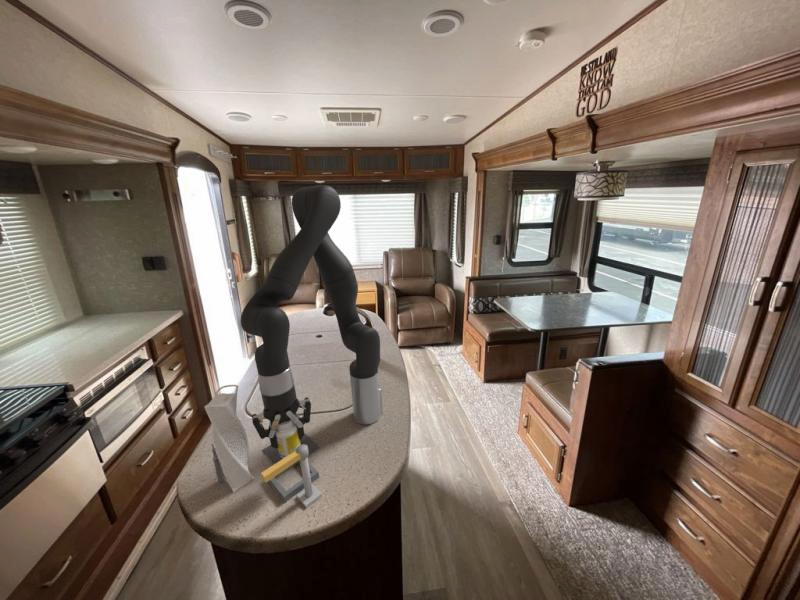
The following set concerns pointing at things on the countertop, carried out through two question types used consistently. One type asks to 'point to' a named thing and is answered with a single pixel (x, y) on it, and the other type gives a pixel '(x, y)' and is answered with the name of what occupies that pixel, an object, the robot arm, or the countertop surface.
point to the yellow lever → (285, 463)
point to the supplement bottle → (287, 438)
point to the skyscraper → (228, 443)
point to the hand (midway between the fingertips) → (288, 441)
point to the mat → (312, 446)
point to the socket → (300, 485)
